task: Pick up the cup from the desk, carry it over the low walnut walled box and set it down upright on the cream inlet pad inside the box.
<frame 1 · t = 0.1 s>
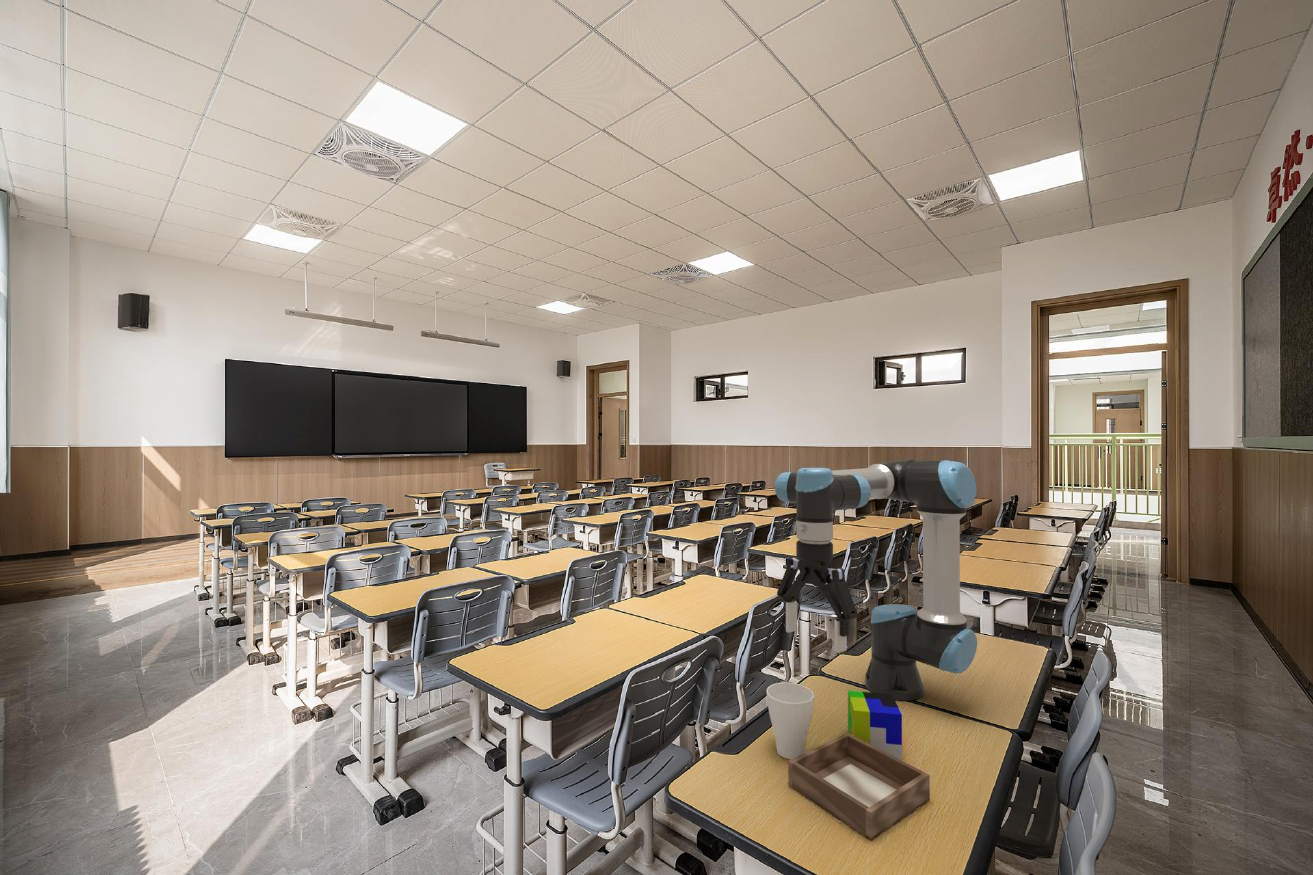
hand: (814, 640, 118), 28 cm above the table, fingers open, 13 cm apart
walled box: (857, 792, 111), on the table
cup: (790, 753, 125), on the table
puzzle toy: (873, 746, 128), on the table
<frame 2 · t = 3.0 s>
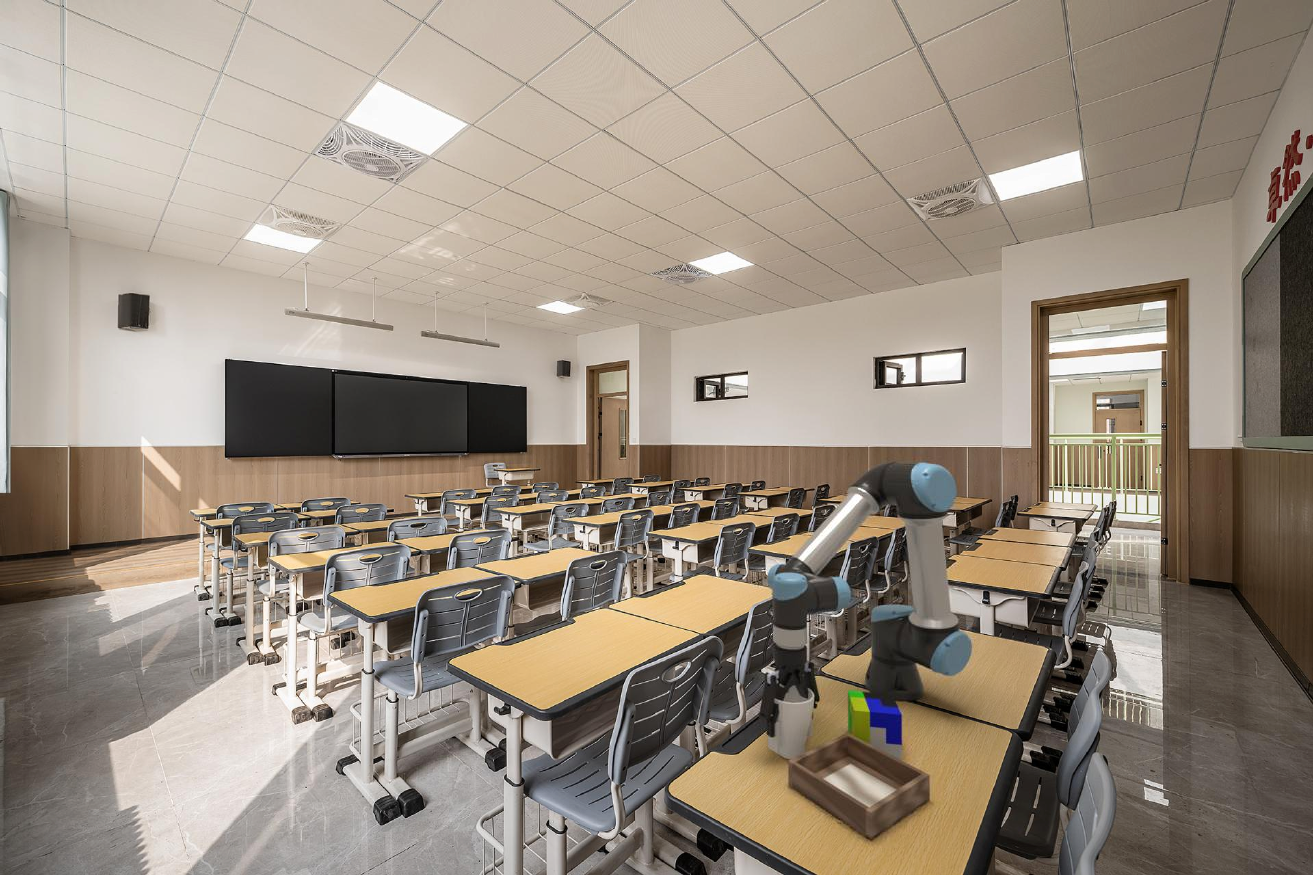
hand: (790, 742, 125), 2 cm above the table, fingers closed on cup, 10 cm apart
cup: (790, 753, 125), on the table, touching gripper
everything else where it was.
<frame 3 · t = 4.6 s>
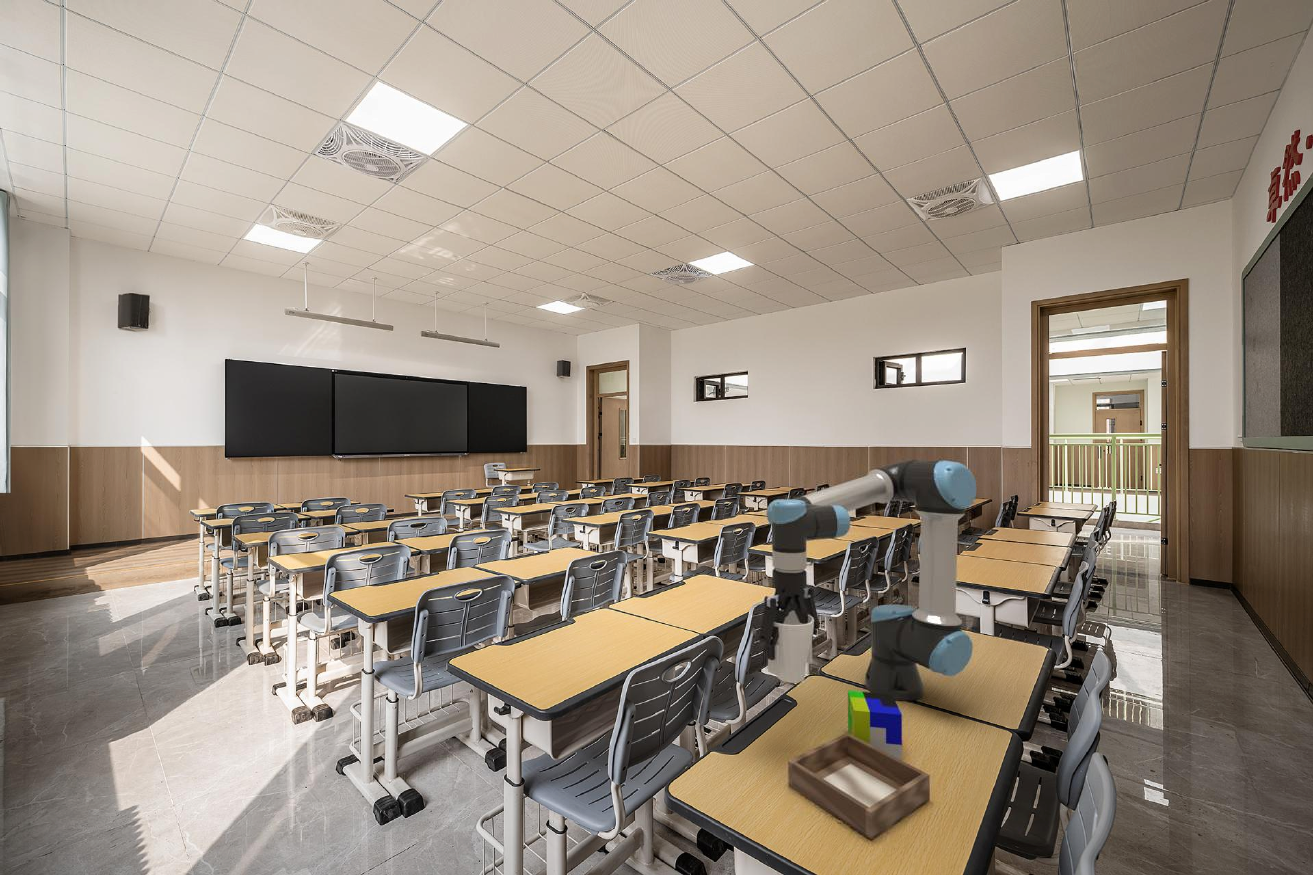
hand: (790, 667, 125), 19 cm above the table, fingers closed on cup, 10 cm apart
cup: (790, 678, 125), point 17 cm above the table, touching gripper
everything else where it was.
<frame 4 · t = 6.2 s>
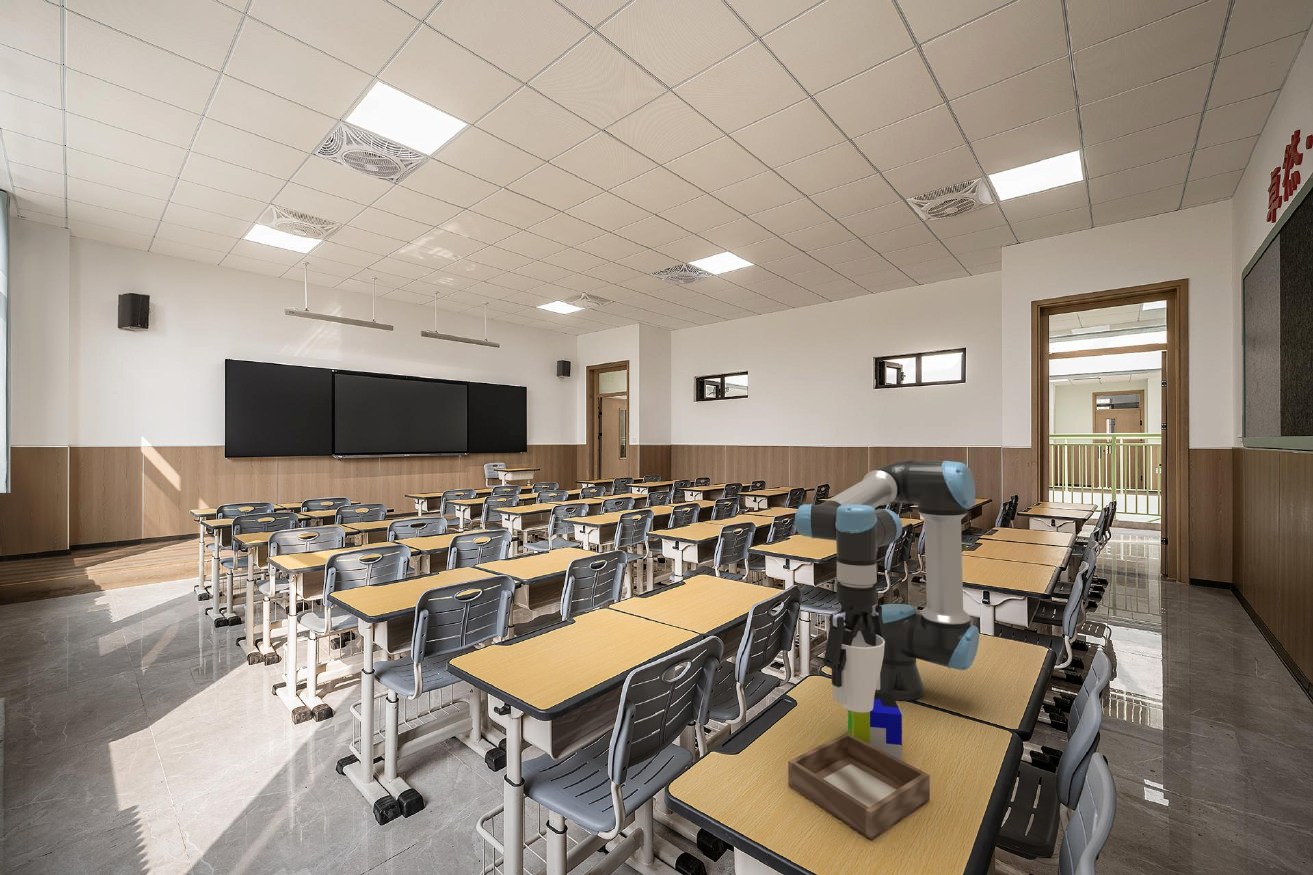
hand: (857, 694, 111), 20 cm above the table, fingers closed on cup, 10 cm apart
cup: (857, 706, 111), point 17 cm above the table, touching gripper
everything else where it was.
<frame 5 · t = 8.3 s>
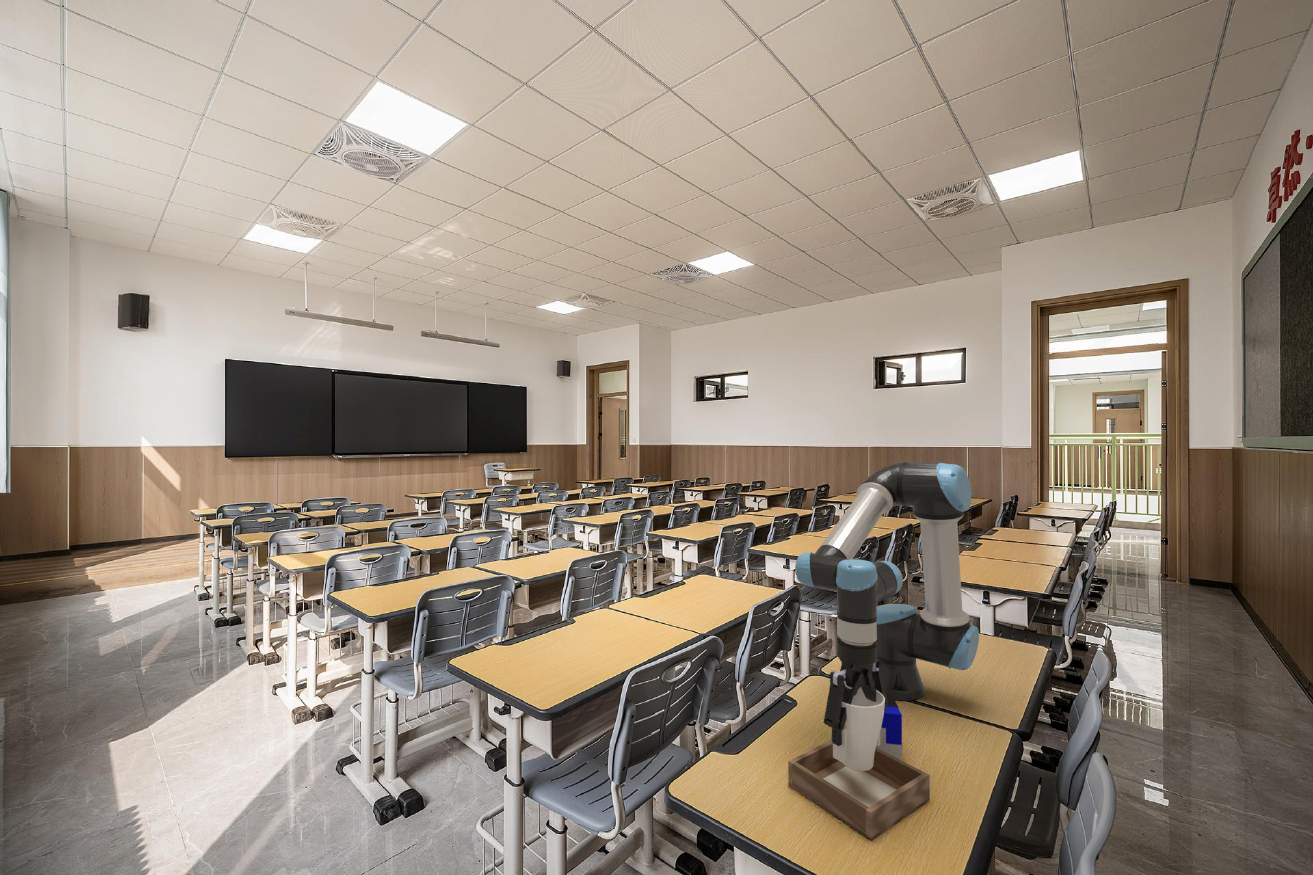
hand: (857, 750, 111), 8 cm above the table, fingers closed on cup, 10 cm apart
cup: (857, 763, 111), point 6 cm above the table, touching gripper
everything else where it was.
when the fingers open (5 cm above the table, at t = 9.7 s): cup drops 1 cm, resting on walled box.
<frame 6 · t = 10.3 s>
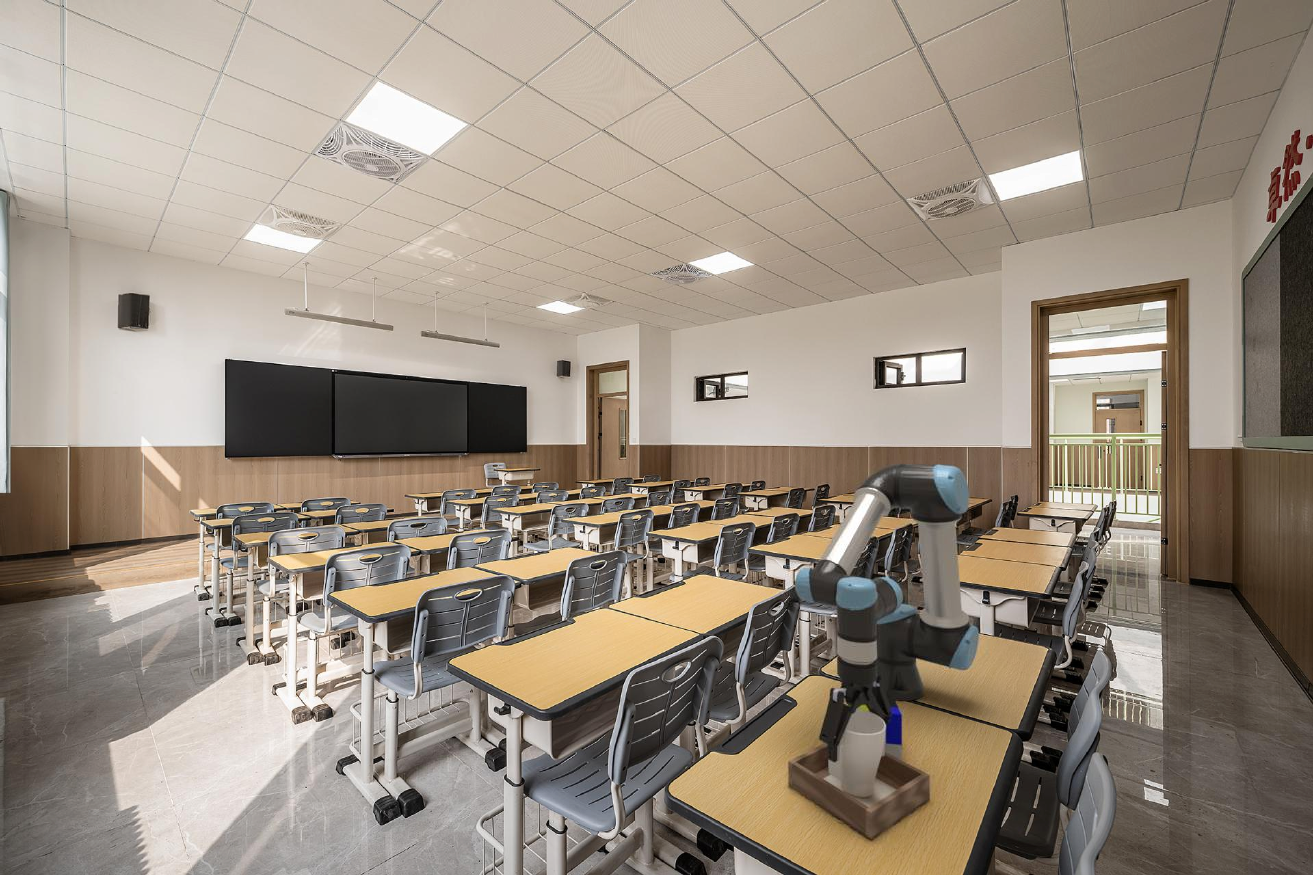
hand: (857, 764, 111), 6 cm above the table, fingers open, 13 cm apart
cup: (857, 788, 111), point 1 cm above the table, touching walled box
everything else where it was.
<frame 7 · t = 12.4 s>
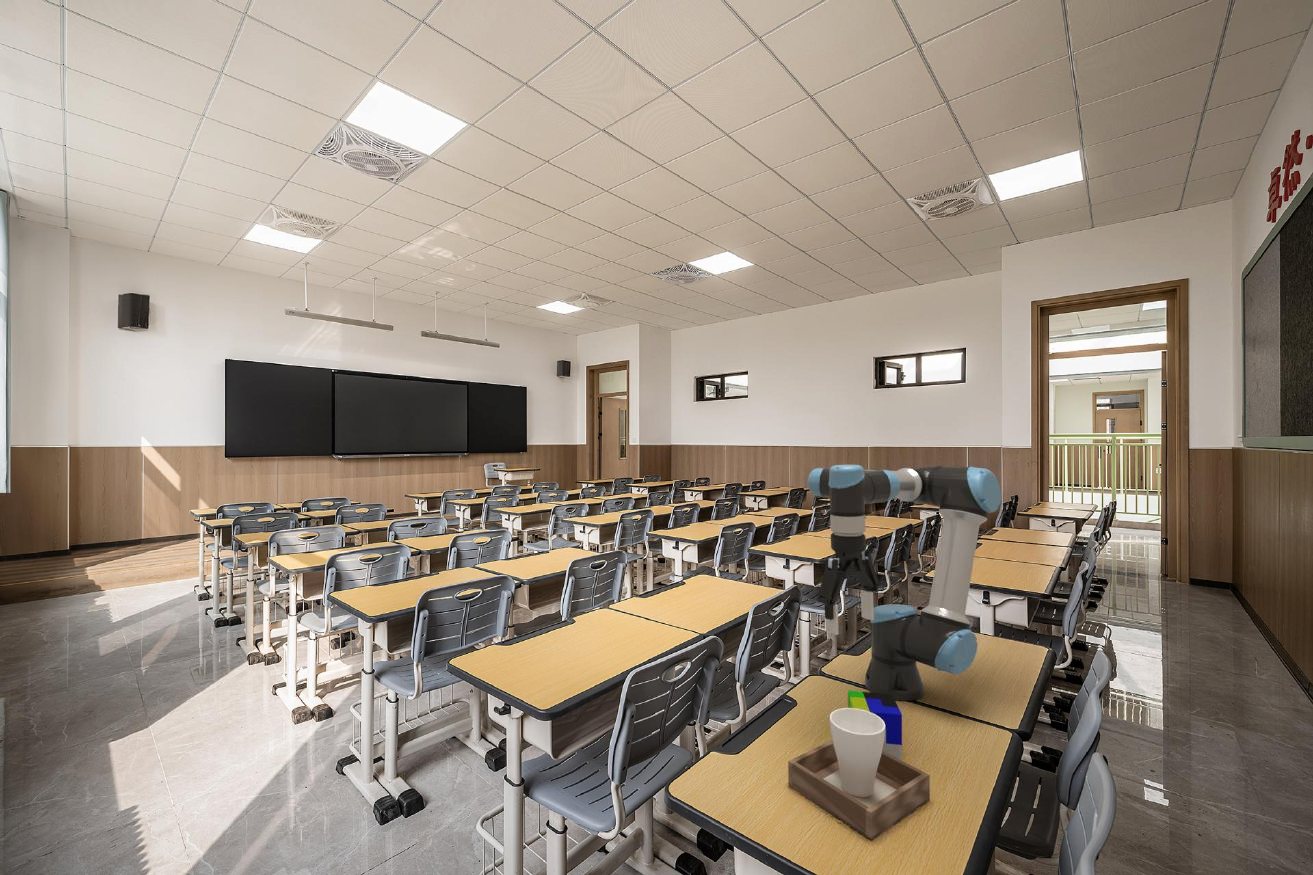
hand: (850, 625, 127), 28 cm above the table, fingers open, 13 cm apart
nothing on the table moved.
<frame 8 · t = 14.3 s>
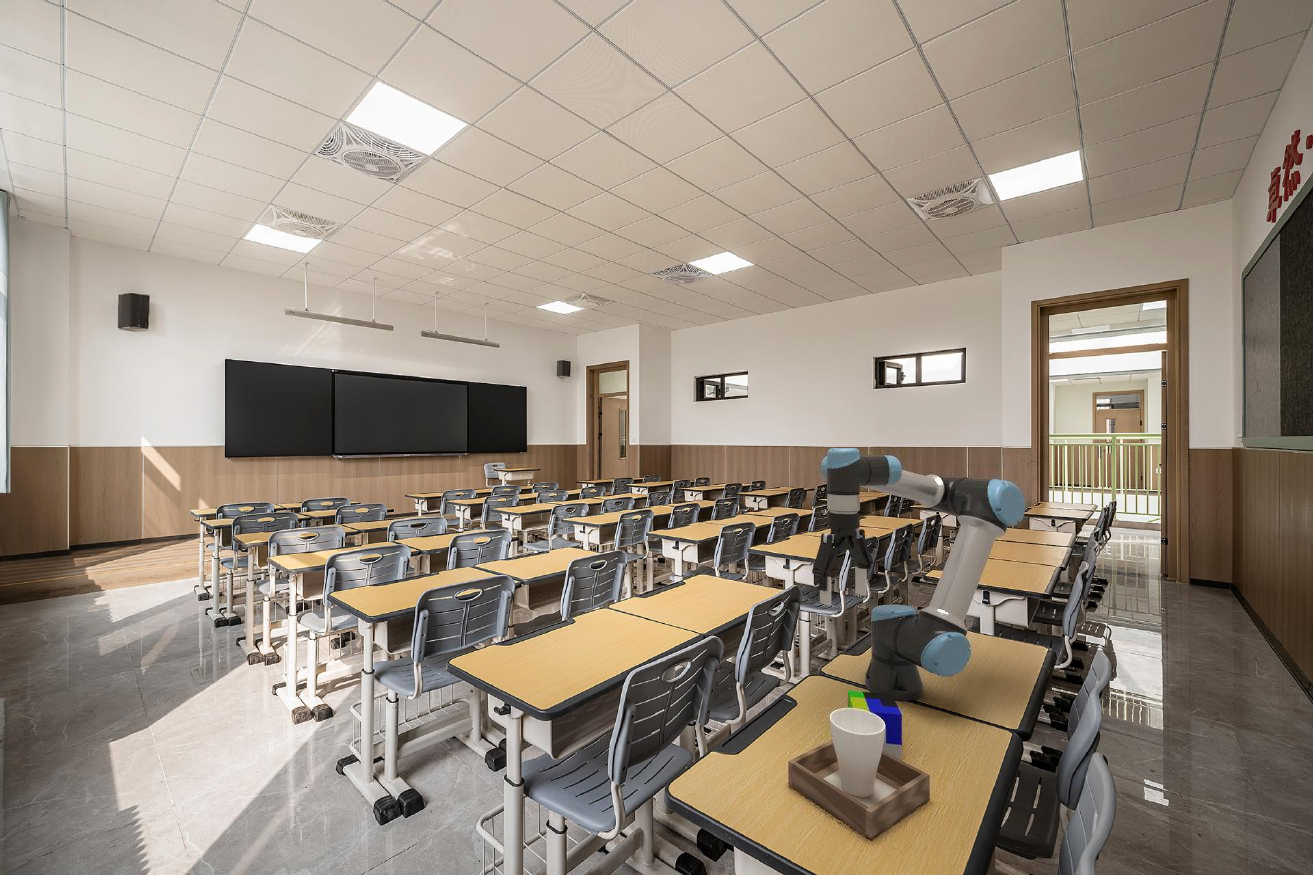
hand: (843, 599, 134), 32 cm above the table, fingers open, 13 cm apart
nothing on the table moved.
at the end: cup inside the target area on the walled box (0.0 cm from its centre), point 0.7 cm above the walled box's base; cup tilted 0°; the gripper is holding nothing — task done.
